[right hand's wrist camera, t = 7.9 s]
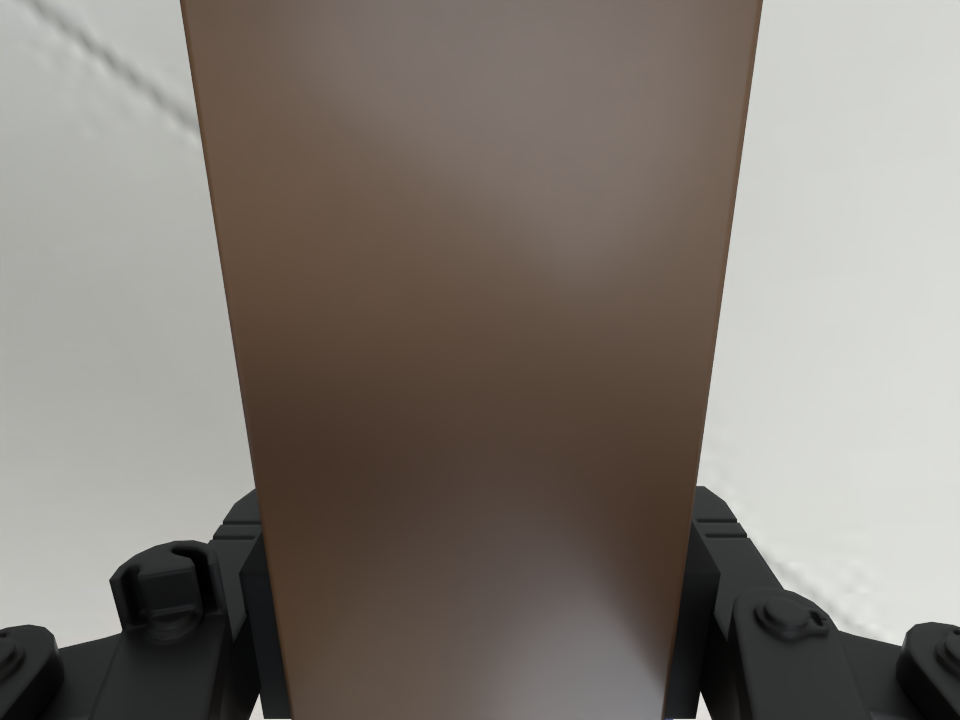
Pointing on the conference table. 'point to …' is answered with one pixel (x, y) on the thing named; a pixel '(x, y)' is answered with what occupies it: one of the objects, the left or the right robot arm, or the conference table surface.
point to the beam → (474, 333)
